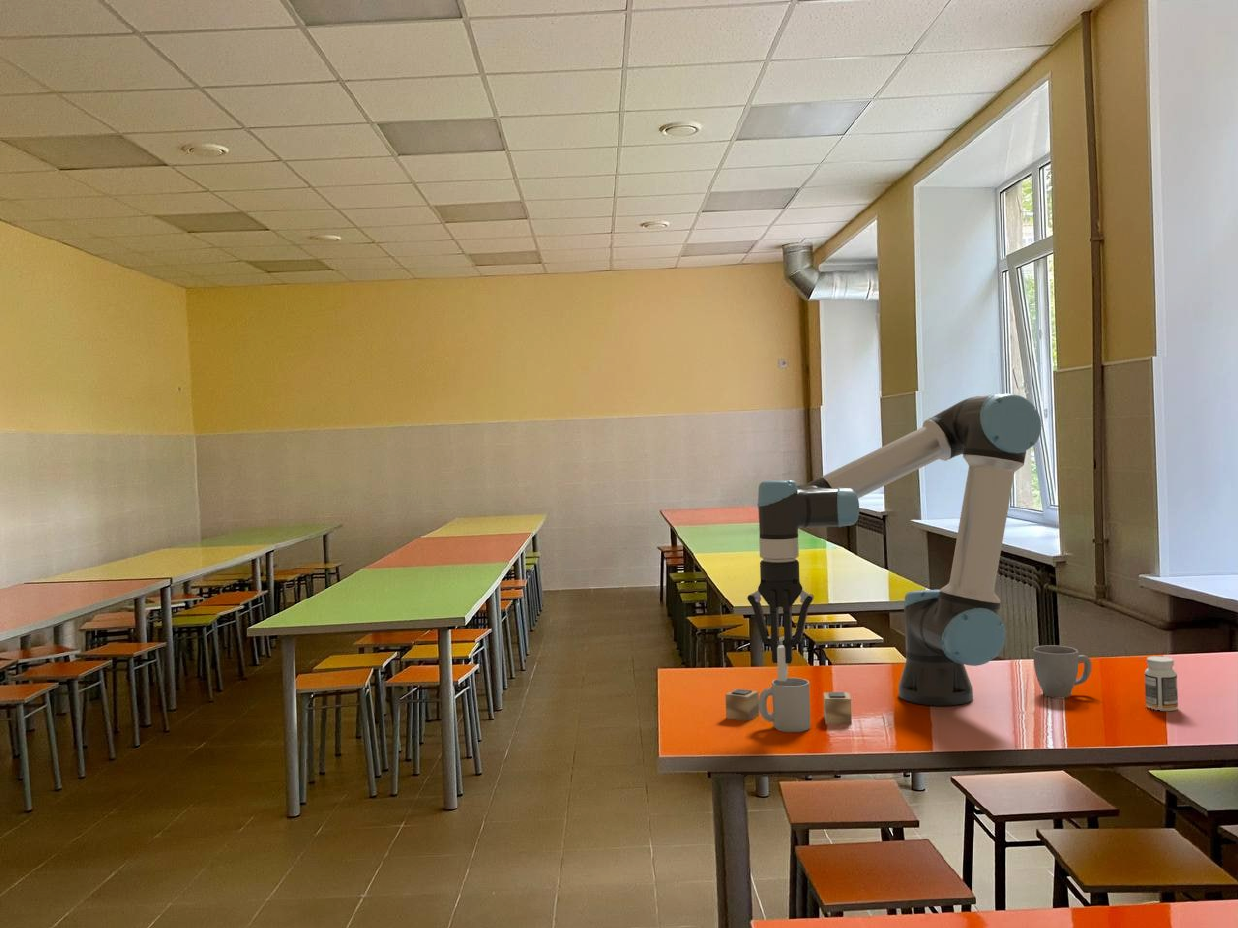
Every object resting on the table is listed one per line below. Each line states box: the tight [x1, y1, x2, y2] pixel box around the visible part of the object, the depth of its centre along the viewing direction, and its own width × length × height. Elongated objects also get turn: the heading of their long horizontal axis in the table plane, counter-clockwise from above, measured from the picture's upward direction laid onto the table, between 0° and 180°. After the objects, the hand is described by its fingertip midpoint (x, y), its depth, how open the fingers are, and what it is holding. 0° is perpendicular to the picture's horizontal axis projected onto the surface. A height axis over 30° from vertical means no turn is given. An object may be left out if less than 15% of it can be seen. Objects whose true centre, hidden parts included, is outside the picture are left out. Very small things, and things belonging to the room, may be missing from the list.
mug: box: [1032, 644, 1093, 699], centre depth 210 cm, size 12×9×10 cm
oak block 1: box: [724, 688, 760, 722], centre depth 202 cm, size 5×5×5 cm
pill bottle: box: [1144, 655, 1179, 712], centre depth 197 cm, size 6×6×10 cm
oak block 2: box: [823, 691, 853, 725], centre depth 197 cm, size 5×5×5 cm
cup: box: [758, 677, 811, 733], centre depth 193 cm, size 7×10×9 cm
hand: (782, 679), depth 193 cm, fingers closed
